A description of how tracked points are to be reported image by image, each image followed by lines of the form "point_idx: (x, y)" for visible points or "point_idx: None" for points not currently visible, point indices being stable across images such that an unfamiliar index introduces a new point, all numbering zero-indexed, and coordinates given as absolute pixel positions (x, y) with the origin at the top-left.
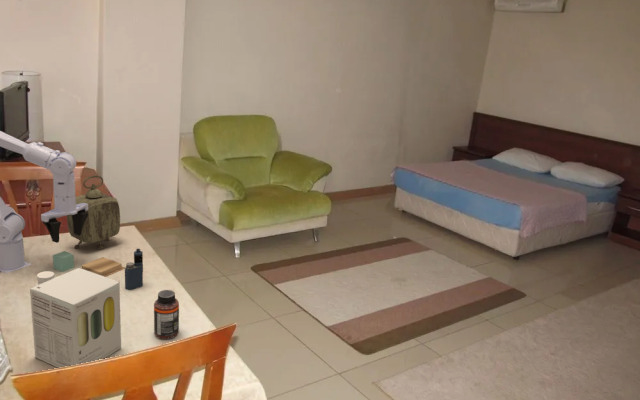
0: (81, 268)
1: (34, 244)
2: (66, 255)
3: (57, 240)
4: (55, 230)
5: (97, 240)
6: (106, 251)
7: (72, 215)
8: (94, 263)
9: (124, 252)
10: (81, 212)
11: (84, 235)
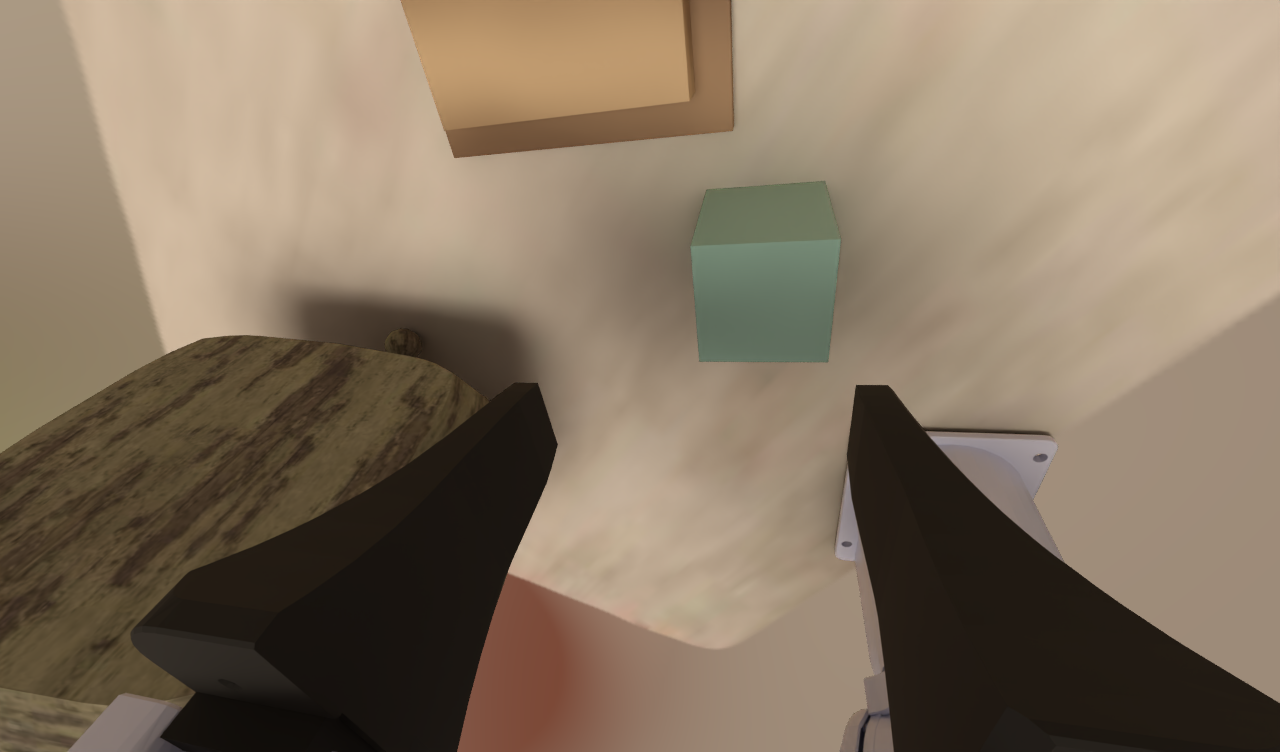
0: (677, 126)
1: (660, 576)
2: (754, 271)
3: (896, 400)
4: (1043, 549)
5: (387, 354)
6: (385, 286)
7: (456, 698)
8: (571, 44)
9: (273, 182)
10: (271, 705)
11: (455, 426)
